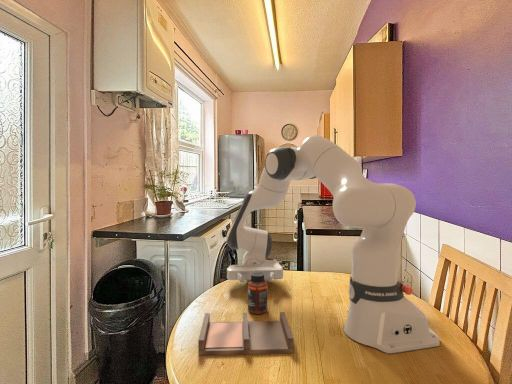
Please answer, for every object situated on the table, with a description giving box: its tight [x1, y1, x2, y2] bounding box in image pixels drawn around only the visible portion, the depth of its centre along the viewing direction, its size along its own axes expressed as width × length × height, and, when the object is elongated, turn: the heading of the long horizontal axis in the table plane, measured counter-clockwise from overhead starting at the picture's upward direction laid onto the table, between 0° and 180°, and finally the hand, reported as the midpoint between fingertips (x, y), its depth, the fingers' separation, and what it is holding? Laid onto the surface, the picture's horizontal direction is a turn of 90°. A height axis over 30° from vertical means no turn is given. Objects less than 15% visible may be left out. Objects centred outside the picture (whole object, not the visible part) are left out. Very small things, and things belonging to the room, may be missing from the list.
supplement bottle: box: [247, 272, 268, 315], centre depth 93 cm, size 6×6×11 cm
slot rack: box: [197, 311, 294, 356], centre depth 77 cm, size 22×14×4 cm, turn 93°
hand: (256, 279), depth 105 cm, fingers open, 8 cm apart
